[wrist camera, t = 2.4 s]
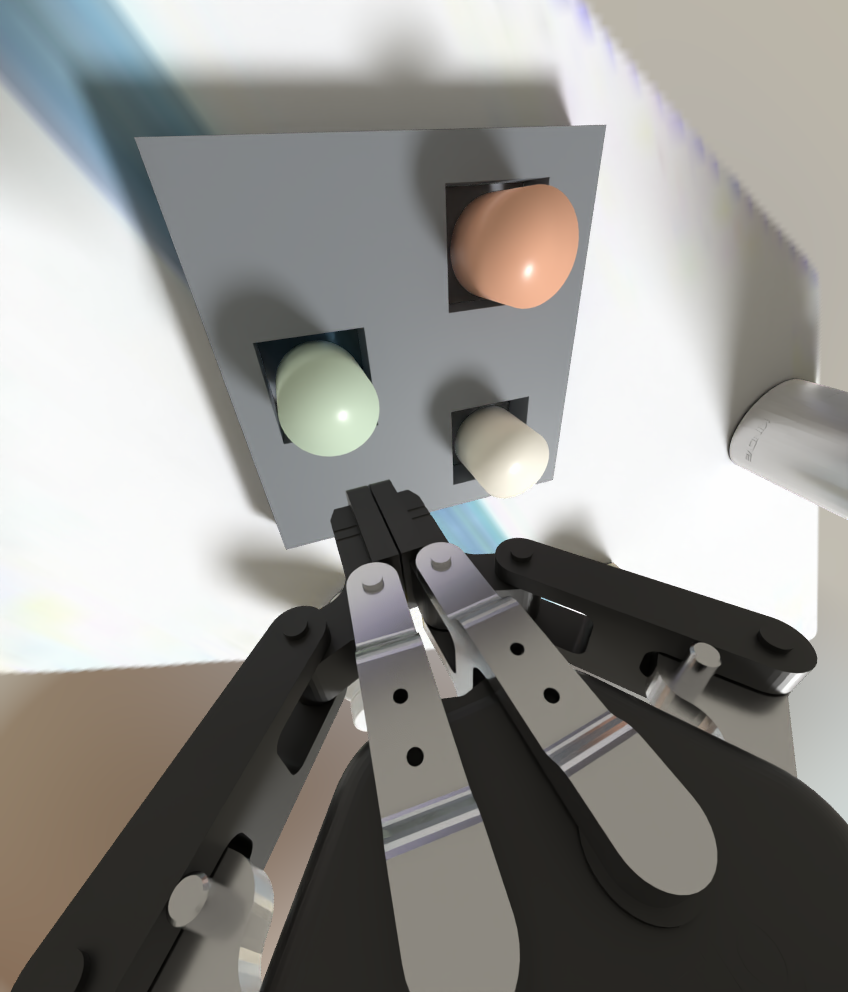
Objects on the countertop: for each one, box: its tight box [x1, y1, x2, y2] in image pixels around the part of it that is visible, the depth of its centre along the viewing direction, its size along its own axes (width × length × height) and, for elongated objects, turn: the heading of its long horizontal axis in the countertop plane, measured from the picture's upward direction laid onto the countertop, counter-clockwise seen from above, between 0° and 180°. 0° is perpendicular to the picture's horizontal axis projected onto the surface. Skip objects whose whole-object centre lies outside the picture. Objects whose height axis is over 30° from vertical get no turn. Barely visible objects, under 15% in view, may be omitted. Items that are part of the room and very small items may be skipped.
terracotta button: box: [450, 184, 579, 309], centre depth 19 cm, size 5×5×4 cm
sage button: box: [275, 340, 379, 456], centre depth 20 cm, size 5×5×4 cm
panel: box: [134, 125, 606, 550], centre depth 23 cm, size 20×20×2 cm
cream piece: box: [455, 406, 549, 499], centre depth 25 cm, size 5×5×4 cm
